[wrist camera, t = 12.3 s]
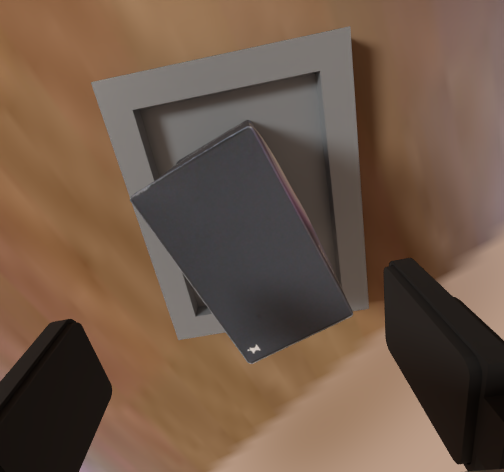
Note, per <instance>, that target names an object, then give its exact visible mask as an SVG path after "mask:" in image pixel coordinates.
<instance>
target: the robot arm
mask: <svg viewBox="0 0 504 472" xmlns="http://www.w3.org/2000/svg"><path fill="white" fill-rule="evenodd" d="M384 302H385V334H386V343H387V346H388V349H389V351H390V353H391V354H392V356H393V358H394V359H395V361H396V363H397V365H398V366H399V368H400V369H401V371H402V373H403V375H404V377H405V378H406V380H407V382H408V383H409V385H410V386H411V388H412V390H413V392H414V394H415V395H416V397H417V398H418V400H419V402H420V404H421V406H422V407H423V409H424V411H425V412H426V414H427V416H428V417H429V419H430V421H431V423H432V424H433V426H434V428H435V429H436V431H437V433H438V435H439V436H440V438H441V440H442V442H443V443H444V445H445V447H446V448H447V450H448V452H449V454H450V455H451V457H452V458H453V460H454V461H455V462H456V463H457V464H464V466H465V467H466V469H467V471H468V472H504V341H503V340H502V339H501V338H500V337H499V336H498V335H497V334H496V333H495V332H494V331H493V330H492V329H490V327H488V326H487V325H486V324H485V323H484V322H483V321H482V320H481V319H480V318H479V317H478V316H476V314H474V313H473V312H472V311H471V310H470V309H469V308H468V307H467V306H466V305H465V304H464V303H463V302H462V301H460V300H459V299H457V298H456V297H453V296H451V295H450V294H449V293H448V292H447V291H446V290H445V289H444V288H443V287H442V286H441V285H440V284H439V283H438V282H437V281H436V280H435V279H433V278H432V277H431V276H430V275H429V274H428V273H427V272H426V271H425V270H424V269H423V268H422V267H421V266H420V265H419V264H418V263H417V262H415V261H414V260H413V259H412V258H406V259H401V260H395V261H391V262H390V263H389V267H385V268H384ZM111 395H112V386H111V383H110V381H109V379H108V377H107V375H106V373H105V371H104V369H103V367H102V365H101V363H100V361H99V359H98V357H97V355H96V353H95V351H94V349H93V347H92V345H91V343H90V341H89V339H88V337H87V335H86V333H85V331H84V329H83V327H82V325H81V324H80V323H76V321H74V320H73V319H67V320H62V321H56V322H52V323H50V324H49V325H48V326H47V327H46V328H45V329H44V331H43V332H42V333H41V334H40V335H39V337H38V338H37V339H36V340H35V341H34V342H33V344H32V345H31V346H30V347H29V348H28V350H27V351H26V352H25V353H24V354H23V356H22V357H21V358H20V359H19V360H18V361H17V363H16V364H15V365H14V366H13V367H12V369H11V370H10V371H9V372H8V373H7V374H6V376H5V377H4V378H3V379H2V380H1V382H0V472H79V470H80V468H81V465H82V463H83V461H84V459H85V456H86V454H87V452H88V449H89V447H90V445H91V442H92V440H93V438H94V435H95V433H96V431H97V428H98V426H99V424H100V422H101V419H102V417H103V415H104V412H105V410H106V408H107V405H108V403H109V401H110V398H111Z"/></svg>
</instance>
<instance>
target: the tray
mask: <svg viewBox="0 0 504 472" xmlns="http://www.w3.org/2000/svg"><path fill="white" fill-rule="evenodd" d="M91 84H92V87H93V90H94V93H95V96H96V99H97V102H98V105H99V108H100V111H101V114H102V116H103V119H104V122H105V125H106V128H107V131H108V134H109V137H110V140H111V143H112V146H113V149H114V152H115V155H116V158H117V161H118V164H119V167H120V169H121V172H122V175H123V178H124V181H125V184H126V187H127V190H128V193H129V196H130V198H131V196H132V195H134V194H135V193H136V192H138V191H139V190H141V189H143V188H145V187H146V186H148V185H149V184H151V183H152V182H154V181H155V180H156V179H157V178H159V177H160V176H162V175H163V174H164V173H166V172H167V171H168V170H169V169H171V168H172V167H173V166H175V165H176V163H177V162H178V161H179V160H180V159H182V158H184V157H185V156H187V155H189V154H190V153H192V152H194V151H195V150H197V149H199V148H201V147H202V146H204V145H205V144H207V143H209V142H210V141H212V140H214V139H215V138H217V137H219V136H220V135H222V134H224V133H225V132H227V131H228V130H230V129H232V128H234V127H235V126H237V125H239V124H241V123H242V122H244V121H246V120H249V121H251V123H252V124H253V125H254V127H255V128H256V129H257V131H258V132H259V133H260V135H261V136H262V138H263V139H264V141H265V142H266V144H267V146H268V147H269V149H270V150H271V152H272V154H273V155H274V157H275V159H276V160H277V162H278V164H279V165H280V167H281V169H282V171H283V173H284V174H285V176H286V178H287V180H288V182H289V183H290V185H291V187H292V189H293V190H294V192H295V194H296V196H297V198H298V199H299V201H300V203H301V205H302V207H303V209H304V210H305V212H306V214H307V216H308V218H309V220H310V222H311V224H312V226H313V228H314V230H315V232H316V234H317V236H318V238H319V241H320V243H321V245H322V247H323V249H324V251H325V253H326V255H327V257H328V259H329V261H330V263H331V265H332V267H333V270H334V272H335V274H336V276H337V278H338V280H339V282H340V285H341V287H342V289H343V291H344V293H345V296H346V298H347V300H348V303H349V305H350V307H351V309H352V311H357V310H364V309H369V301H368V286H367V271H366V256H365V241H364V226H363V211H362V196H361V181H360V166H359V151H358V136H357V121H356V106H355V91H354V76H353V61H352V46H351V31H350V26H349V27H345V28H340V29H336V30H331V31H326V32H322V33H317V34H312V35H308V36H303V37H299V38H294V39H289V40H285V41H280V42H275V43H271V44H266V45H262V46H257V47H252V48H248V49H243V50H238V51H234V52H229V53H224V54H220V55H215V56H211V57H206V58H201V59H197V60H192V61H187V62H183V63H178V64H174V65H169V66H164V67H160V68H155V69H150V70H146V71H141V72H137V73H132V74H127V75H123V76H118V77H113V78H109V79H104V80H100V81H95V82H91ZM132 205H133V204H132ZM133 208H134V211H135V214H136V217H137V219H138V222H139V225H140V228H141V231H142V234H143V237H144V240H145V243H146V246H147V249H148V252H149V255H150V258H151V261H152V264H153V267H154V270H155V272H156V275H157V278H158V281H159V284H160V287H161V290H162V293H163V296H164V299H165V302H166V305H167V308H168V311H169V314H170V317H171V320H172V322H173V325H174V328H175V331H176V334H177V337H178V340H182V339H188V338H194V337H200V336H206V335H212V334H218V333H224V332H225V331H224V329H223V328H222V326H221V325H220V324H219V322H218V321H217V320H216V318H215V317H214V315H213V314H212V313H211V311H210V310H209V308H208V307H207V306H206V305H205V303H204V302H203V300H202V299H201V298H200V296H199V295H198V294H197V292H196V291H195V289H194V288H193V287H192V285H191V284H190V283H189V281H188V280H187V278H186V277H185V276H184V274H183V273H182V272H181V270H180V269H179V267H178V266H177V265H176V263H175V262H174V260H173V259H172V258H171V256H170V255H169V254H168V252H167V251H166V249H165V248H164V247H163V245H162V244H161V243H160V241H159V240H158V238H157V237H156V236H155V234H154V233H153V232H152V230H151V229H150V227H149V226H148V225H147V223H146V222H145V221H144V219H143V218H142V216H141V215H140V214H139V212H138V211H137V209H136V208H135V207H134V205H133Z"/></svg>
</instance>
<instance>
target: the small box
mask: <svg viewBox="0 0 504 472" xmlns="http://www.w3.org/2000/svg"><path fill="white" fill-rule="evenodd" d="M130 201H131V203H132V204H133V205H134V207H135V208H136V209H137V211H138V212H139V214H140V215H141V216H142V218H143V219H144V221H145V222H146V223H147V225H148V226H149V227H150V229H151V230H152V232H153V233H154V234H155V236H156V237H157V238H158V240H159V241H160V243H161V244H162V245H163V247H164V248H165V249H166V251H167V252H168V254H169V255H170V256H171V258H172V259H173V260H174V262H175V263H176V265H177V266H178V267H179V269H180V270H181V272H182V273H183V274H184V276H185V277H186V278H187V280H188V281H189V283H190V284H191V285H192V287H193V288H194V289H195V291H196V292H197V294H198V295H199V296H200V298H201V299H202V300H203V302H204V303H205V305H206V306H207V307H208V308H209V310H210V311H211V313H212V314H213V315H214V317H215V318H216V320H217V321H218V322H219V324H220V325H221V326H222V328H223V329H224V331H225V332H226V333H227V335H228V336H229V337H230V339H231V340H232V342H233V343H234V344H235V346H236V347H237V348H238V350H239V351H240V352H241V354H242V355H243V356H244V358H245V359H246V361H247V362H248V363H250V364H253V363H255V362H257V361H260V360H261V359H263V358H266V357H267V356H269V355H272V354H274V353H276V352H278V351H280V350H282V349H284V348H287V347H289V346H290V345H293V344H295V343H297V342H299V341H301V340H303V339H306V338H308V337H310V336H312V335H314V334H316V333H318V332H321V331H322V330H325V329H327V328H329V327H331V326H333V325H335V324H337V323H339V322H341V321H343V320H345V319H347V318H350V317H352V315H353V311H352V309H351V307H350V305H349V303H348V300H347V298H346V296H345V293H344V291H343V289H342V287H341V285H340V282H339V280H338V278H337V276H336V274H335V272H334V270H333V267H332V265H331V263H330V261H329V259H328V257H327V255H326V253H325V251H324V249H323V247H322V245H321V243H320V241H319V238H318V236H317V234H316V232H315V230H314V228H313V226H312V224H311V222H310V220H309V218H308V216H307V214H306V212H305V210H304V209H303V207H302V205H301V203H300V201H299V199H298V198H297V196H296V194H295V192H294V190H293V189H292V187H291V185H290V183H289V182H288V180H287V178H286V176H285V174H284V173H283V171H282V169H281V167H280V165H279V164H278V162H277V160H276V159H275V157H274V155H273V154H272V152H271V150H270V149H269V147H268V146H267V144H266V142H265V141H264V139H263V138H262V136H261V135H260V133H259V132H258V131H257V129H256V128H255V127H254V125H253V124H252V123H251V121H249V120H246V121H244V122H242V123H241V124H239V125H237V126H235V127H234V128H232V129H230V130H228V131H227V132H225V133H224V134H222V135H220V136H219V137H217V138H215V139H214V140H212V141H210V142H209V143H207V144H205V145H204V146H202V147H201V148H199V149H197V150H195V151H194V152H192V153H190V154H189V155H187V156H185V157H184V158H182V159H180V160H179V161H178V162H177V163H176V165H175V166H173V167H172V168H171V169H169V170H168V171H167V172H166V173H164V174H163V175H162V176H160V177H159V178H157V179H156V180H155V181H154V182H152V183H151V184H149V185H148V186H146V187H145V188H143V189H141V190H139V191H138V192H136V193H135V194H134V195H132V196H131V198H130Z"/></svg>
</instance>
